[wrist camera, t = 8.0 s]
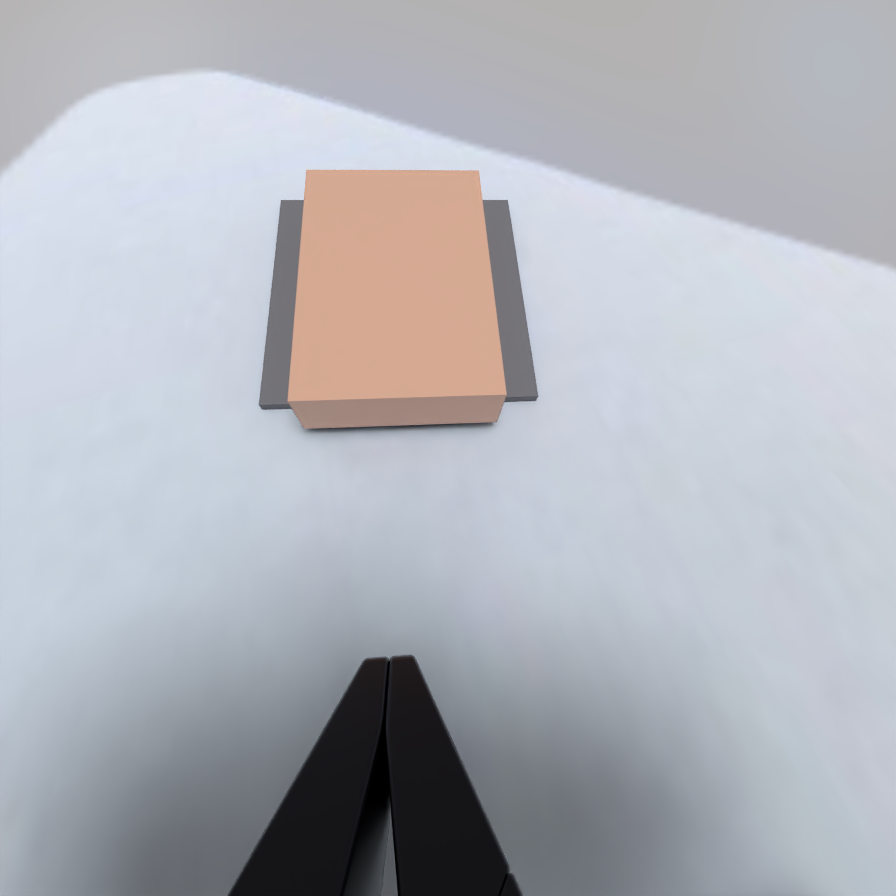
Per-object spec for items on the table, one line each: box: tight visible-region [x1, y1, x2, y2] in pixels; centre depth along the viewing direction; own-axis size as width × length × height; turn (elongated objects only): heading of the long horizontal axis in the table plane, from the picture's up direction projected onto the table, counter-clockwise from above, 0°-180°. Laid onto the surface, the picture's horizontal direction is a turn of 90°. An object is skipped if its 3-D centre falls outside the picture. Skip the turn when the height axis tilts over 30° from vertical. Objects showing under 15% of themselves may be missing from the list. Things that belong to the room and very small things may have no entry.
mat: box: [259, 200, 538, 409], centre depth 21 cm, size 12×12×1 cm
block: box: [288, 170, 507, 429], centre depth 20 cm, size 3×8×12 cm
